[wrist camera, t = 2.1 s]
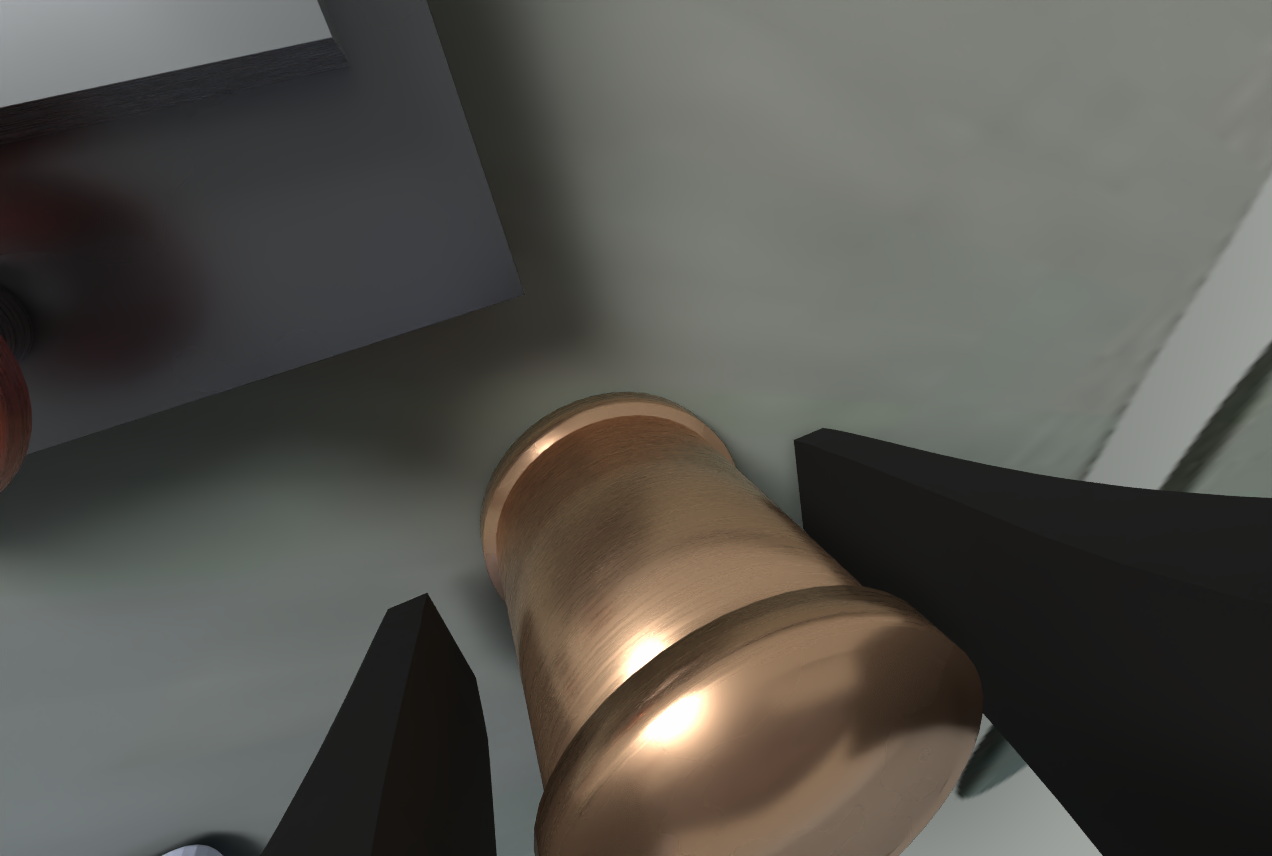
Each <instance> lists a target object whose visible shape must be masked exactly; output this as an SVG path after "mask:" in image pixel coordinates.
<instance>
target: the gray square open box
mask: <svg viewBox="0 0 1272 856" xmlns="http://www.w3.org/2000/svg"><path fill="white" fill-rule="evenodd" d="M522 295H525V294H524V291H523V288H522V285H521V282H520V279H519V276H518V273H517V270H516V267H515V264H514V261H513V258H512V255H511V252H510V249H509V246H508V243H507V240H506V237H505V234H504V231H503V228H502V225H501V222H500V219H499V216H498V213H497V210H496V207H495V204H494V201H493V198H492V195H491V192H490V189H489V186H488V183H487V180H486V177H485V174H484V171H483V168H482V165H481V162H480V159H479V156H478V153H477V150H476V147H475V144H474V141H473V138H472V135H471V132H470V129H469V126H468V123H467V120H466V117H465V114H464V111H463V108H462V105H461V102H460V99H459V96H458V93H457V90H456V87H455V84H454V81H453V78H452V75H451V72H450V69H449V66H448V63H447V60H446V57H445V54H444V51H443V48H442V45H441V42H440V39H439V36H438V33H437V30H436V27H435V24H434V21H433V18H432V15H431V12H430V9H429V6H428V3H427V0H0V493H1V492H2V491H3V490H4V489H5V488H6V487H7V486H8V485H9V483H10V482H11V480H12V479H13V477H14V476H15V474H16V473H17V472H18V470H19V469H20V467H21V464H22V462H23V460H24V457H25V455H28V454H31V453H34V452H37V451H40V450H43V449H46V448H49V447H52V446H56V445H59V444H62V443H65V442H68V441H71V440H74V439H77V438H80V437H84V436H87V435H90V434H93V433H96V432H99V431H102V430H105V429H108V428H111V427H115V426H118V425H121V424H124V423H127V422H130V421H133V420H136V419H139V418H143V417H146V416H149V415H152V414H155V413H158V412H161V411H164V410H167V409H171V408H174V407H177V406H180V405H183V404H186V403H189V402H192V401H195V400H198V399H202V398H205V397H208V396H211V395H214V394H217V393H220V392H223V391H226V390H230V389H233V388H236V387H239V386H242V385H245V384H248V383H251V382H254V381H258V380H261V379H264V378H267V377H270V376H273V375H276V374H279V373H282V372H286V371H289V370H292V369H295V368H298V367H301V366H304V365H307V364H310V363H313V362H317V361H320V360H323V359H326V358H329V357H332V356H335V355H338V354H341V353H345V352H348V351H351V350H354V349H357V348H360V347H363V346H366V345H369V344H373V343H376V342H379V341H382V340H385V339H388V338H391V337H394V336H397V335H400V334H404V333H407V332H410V331H413V330H416V329H419V328H422V327H425V326H428V325H432V324H435V323H438V322H441V321H444V320H447V319H450V318H453V317H456V316H460V315H463V314H466V313H469V312H472V311H475V310H478V309H481V308H484V307H488V306H491V305H494V304H497V303H500V302H503V301H506V300H509V299H512V298H515V297H519V296H522Z"/></svg>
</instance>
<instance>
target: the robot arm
mask: <svg viewBox="0 0 1272 856" xmlns="http://www.w3.org/2000/svg"><path fill="white" fill-rule="evenodd" d="M794 447H795V456H796V465H797V474H798V483H799V492H800V502H801V511H802V520H803V529H804V530H805V531H806V532H807V534H808V535H809V536H810V537H811V538H812V539H813V540H814V541H815V542H816V543H817V544H818V545H820V546H821V547H822V548H823V549H824V550H825V551H826V552H827V553H828V554H829V555H830V556H831V557H832V558H834V559H835V560H836V561H837V562H838V563H839V564H840V565H841V566H842V567H843V568H844V569H845V570H846V571H848V572H849V573H850V574H851V575H852V576H853V577H854V578H855V579H856V580H857V581H858V582H859V583H860V584H861V585H863V586H864V587H869V588H873V589H877V590H881V591H885V592H888V593H890V594H892V595H894V596H896V597H898V598H900V599H902V600H904V601H906V602H907V603H908V604H909V605H911V606H912V607H913V608H915V609H916V610H917V611H918V612H919V613H921V614H922V615H923V616H924V617H925V618H926V619H927V620H929V621H930V622H931V623H932V624H933V625H934V626H935V627H936V628H938V629H939V630H940V631H941V632H942V633H943V634H944V635H946V636H947V637H948V638H949V639H950V640H951V641H952V642H954V643H955V644H956V645H957V646H958V647H959V648H960V649H962V650H963V651H964V652H965V653H966V655H967V656H968V657H969V659H970V660H971V661H972V662H973V664H974V665H975V667H976V670H977V672H978V675H979V677H980V679H981V685H982V691H983V714H984V715H985V716H986V717H987V718H988V719H989V720H990V722H991V723H992V724H993V725H994V726H995V727H996V728H997V730H998V731H999V732H1000V733H1001V734H1002V735H1003V736H1004V737H1005V739H1006V740H1007V741H1008V742H1009V743H1010V744H1011V745H1012V747H1013V748H1014V749H1015V750H1016V751H1017V753H1018V754H1019V755H1020V756H1021V757H1022V758H1023V760H1024V761H1025V762H1026V763H1027V764H1028V765H1029V767H1030V768H1031V769H1032V770H1033V771H1034V773H1036V775H1037V776H1038V777H1039V778H1040V780H1041V781H1042V782H1043V783H1044V784H1045V785H1046V787H1047V788H1048V789H1049V790H1050V791H1051V792H1052V794H1053V795H1054V796H1055V797H1056V798H1057V799H1058V801H1059V802H1060V803H1061V804H1062V806H1063V807H1064V808H1065V809H1066V811H1067V812H1068V813H1069V814H1070V816H1071V817H1072V818H1073V819H1074V821H1075V822H1076V823H1077V824H1078V826H1079V827H1080V828H1081V829H1082V831H1083V832H1084V833H1085V834H1086V835H1087V837H1088V838H1089V839H1090V840H1091V842H1092V843H1093V844H1094V845H1095V846H1096V848H1097V849H1098V850H1099V852H1100V853H1101V854H1102V855H1103V856H1272V498H1259V497H1239V496H1225V495H1212V494H1199V493H1186V492H1174V491H1161V490H1151V489H1142V488H1132V487H1123V486H1116V485H1108V484H1100V483H1093V482H1086V481H1078V480H1071V479H1064V478H1057V477H1051V476H1045V475H1039V474H1033V473H1028V472H1023V471H1017V470H1012V469H1007V468H1001V467H996V466H991V465H986V464H981V463H976V462H972V461H967V460H962V459H958V458H953V457H949V456H944V455H940V454H936V453H932V452H927V451H923V450H919V449H915V448H911V447H906V446H902V445H898V444H894V443H890V442H886V441H882V440H878V439H874V438H869V437H865V436H861V435H856V434H852V433H848V432H843V431H838V430H832V429H826V428H822V429H819V430H817V431H815V432H812V433H810V434H807V435H805V436H803V437H800V438H798V439H795V440H794ZM162 856H223V855H222V854H221V853H219V852H218V851H217V850H216V849H214V848H212V847H210V846H206V845H198V844H197V845H189V846H184V847H181V848H178V849H175V850H173V851H171V852H168V853H166V854H164V855H162ZM261 856H497V854H496V840H495V826H494V812H493V798H492V785H491V772H490V759H489V747H488V737H487V732H486V726H485V721H484V716H483V710H482V705H481V701H480V696H479V691H478V686H477V681H476V677H475V675H474V673H473V672H472V670H471V668H470V666H469V665H468V663H467V661H466V660H465V658H464V656H463V654H462V653H461V651H460V649H459V647H458V646H457V644H456V642H455V640H454V639H453V637H452V635H451V633H450V632H449V630H448V628H447V626H446V625H445V623H444V621H443V619H442V618H441V616H440V614H439V612H438V611H437V609H436V607H435V605H434V604H433V602H432V600H431V598H430V597H429V595H428V593H426V594H423V595H421V596H418V597H416V598H414V599H411V600H409V601H406V602H404V603H402V604H399V605H397V606H394V607H392V608H390V609H388V610H387V612H386V614H385V616H384V618H383V620H382V622H381V624H380V626H379V628H378V630H377V632H376V635H375V637H374V639H373V641H372V643H371V645H370V647H369V649H368V652H367V654H366V656H365V658H364V660H363V662H362V664H361V667H360V669H359V671H358V673H357V675H356V677H355V679H354V681H353V683H352V685H351V688H350V690H349V692H348V694H347V696H346V698H345V700H344V702H343V704H342V706H341V708H340V710H339V712H338V714H337V716H336V718H335V720H334V722H333V724H332V726H331V728H330V730H329V732H328V734H327V736H326V738H325V740H324V742H323V744H322V746H321V748H320V750H319V752H318V754H317V756H316V758H315V759H314V761H313V763H312V765H311V767H310V769H309V770H308V772H307V774H306V776H305V778H304V780H303V781H302V783H301V785H300V787H299V789H298V791H297V792H296V794H295V796H294V798H293V800H292V801H291V803H290V805H289V807H288V809H287V811H286V812H285V814H284V816H283V818H282V820H281V822H280V823H279V825H278V827H277V829H276V830H275V832H274V834H273V835H272V837H271V839H270V841H269V842H268V844H267V846H266V847H265V849H264V851H263V852H262V854H261Z"/></svg>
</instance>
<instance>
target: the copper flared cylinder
mask: <svg viewBox="0 0 1272 856" xmlns="http://www.w3.org/2000/svg"><path fill="white" fill-rule="evenodd" d="M480 530H481V540H482V546H483V552H484V557H485V562H486V567H487V571H488V574H489V576H490V579H491V581H492V584H493V585H494V587H495V589H496V590H497V592H498V594H499V595H500V597H501V598H502V599H503V600H504V601H505V603H506V605H507V610H508V615H509V620H510V625H511V630H512V635H513V640H514V645H515V650H516V655H517V660H518V665H519V670H520V674H521V679H522V684H523V689H524V694H525V699H526V704H527V709H528V714H529V719H530V724H531V729H532V734H533V739H534V744H535V749H536V754H537V759H538V764H539V768H540V773H541V778H542V783H543V788H544V793H543V795H542V798H541V801H540V803H539V807H538V812H537V817H536V822H535V827H534V852H535V856H899V855H900V854H901V853H902V852H903V851H904V850H905V849H906V848H907V847H908V846H909V845H910V844H911V842H912V841H913V840H914V839H915V838H916V837H917V836H918V834H919V833H920V832H921V831H922V830H923V829H924V828H925V827H926V825H927V824H928V823H929V821H930V820H931V819H932V818H933V816H934V815H935V814H936V812H937V811H938V810H939V809H940V807H941V806H942V804H943V803H944V802H945V800H946V799H947V797H948V796H949V794H950V793H951V791H952V790H953V788H954V786H955V785H956V783H957V781H958V779H959V778H960V776H961V774H962V772H963V771H964V769H965V767H966V764H967V762H968V760H969V758H970V756H971V753H972V751H973V748H974V745H975V742H976V739H977V736H978V733H979V729H980V724H981V719H982V714H983V691H982V685H981V679H980V677H979V675H978V672H977V670H976V667H975V665H974V664H973V662H972V661H971V660H970V659H969V657H968V656H967V655H966V653H965V652H964V651H963V650H962V649H960V648H959V647H958V646H957V645H956V644H955V643H954V642H952V641H951V640H950V639H949V638H948V637H947V636H946V635H944V634H943V633H942V632H941V631H940V630H939V629H938V628H936V627H935V626H934V625H933V624H932V623H931V622H930V621H929V620H927V619H926V618H925V617H924V616H923V615H922V614H921V613H919V612H918V611H917V610H916V609H915V608H913V607H912V606H911V605H909V604H908V603H907V602H906V601H904V600H902V599H900V598H898V597H896V596H894V595H892V594H890V593H888V592H885V591H881V590H877V589H873V588H869V587H864V586H863V585H861V584H860V583H859V582H858V581H857V580H856V579H855V578H854V577H853V576H852V575H851V574H850V573H849V572H848V571H846V570H845V569H844V568H843V567H842V566H841V565H840V564H839V563H838V562H837V561H836V560H835V559H834V558H832V557H831V556H830V555H829V554H828V553H827V552H826V551H825V550H824V549H823V548H822V547H821V546H820V545H818V544H817V543H816V542H815V541H814V540H813V539H812V538H811V537H810V536H809V535H808V534H807V533H806V532H804V531H803V530H802V529H801V528H800V527H799V526H798V525H797V524H796V523H795V522H794V521H793V520H792V519H790V518H789V517H788V516H787V515H786V514H785V513H784V512H783V511H782V510H781V509H780V508H779V507H778V506H776V505H775V504H774V503H773V502H772V501H771V500H770V499H769V498H768V497H767V496H766V495H765V494H764V493H762V492H761V491H760V490H759V489H758V488H757V487H756V486H755V485H754V484H753V483H752V482H751V481H750V480H749V479H747V478H746V477H745V476H744V475H743V474H742V473H741V472H740V471H739V470H738V469H737V468H736V467H735V464H734V462H733V460H732V457H731V455H730V453H729V451H728V450H727V448H726V447H725V445H724V444H723V442H722V441H721V440H720V439H719V437H718V436H717V435H716V434H715V433H714V432H713V431H712V430H711V429H710V428H709V427H707V426H706V425H705V424H704V423H703V422H702V421H701V420H700V419H698V418H697V417H696V416H695V415H693V414H692V413H691V412H690V411H688V410H687V409H685V408H684V407H682V406H680V405H678V404H677V403H675V402H672V401H670V400H667V399H664V398H662V397H658V396H654V395H650V394H645V393H634V392H617V393H607V394H601V395H595V396H591V397H588V398H585V399H581V400H578V401H575V402H573V403H571V404H568V405H566V406H564V407H561V408H559V409H557V410H556V411H554V412H552V413H551V414H549V415H547V416H546V417H544V418H542V419H541V420H540V421H538V422H537V423H536V424H534V425H533V426H532V427H530V428H529V429H528V430H527V431H526V432H525V433H524V434H523V435H522V436H521V437H519V438H518V439H517V440H516V441H515V442H514V444H513V445H512V446H511V447H510V448H509V450H508V451H507V452H506V453H505V455H504V456H503V457H502V459H501V461H500V462H499V464H498V466H497V467H496V469H495V470H494V472H493V474H492V477H491V479H490V481H489V483H488V486H487V488H486V492H485V495H484V499H483V502H482V509H481V517H480Z"/></svg>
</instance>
